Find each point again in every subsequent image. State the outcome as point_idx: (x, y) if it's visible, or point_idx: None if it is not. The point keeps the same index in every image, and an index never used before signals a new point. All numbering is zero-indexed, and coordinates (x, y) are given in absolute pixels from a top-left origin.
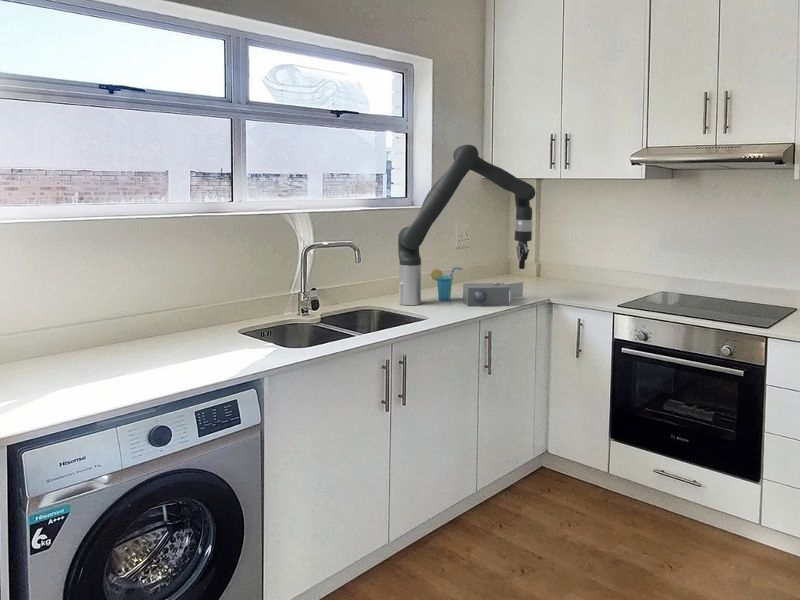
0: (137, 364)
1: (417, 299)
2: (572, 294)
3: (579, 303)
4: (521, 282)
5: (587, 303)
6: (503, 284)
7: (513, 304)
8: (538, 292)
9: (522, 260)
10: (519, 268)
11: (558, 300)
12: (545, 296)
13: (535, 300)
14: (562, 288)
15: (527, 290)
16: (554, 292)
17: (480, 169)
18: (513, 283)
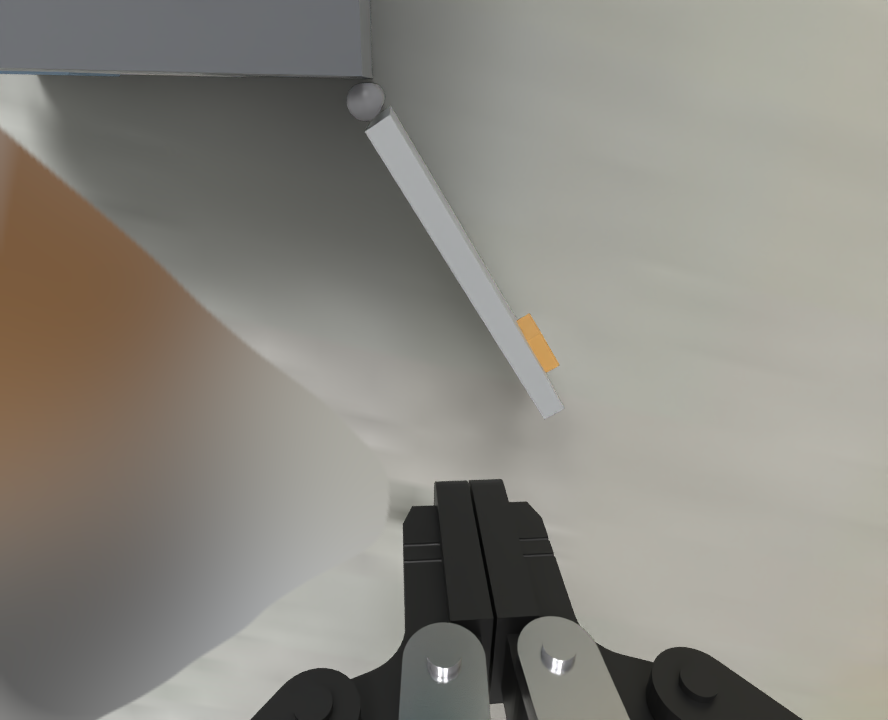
0: None
1: None
2: None
3: (239, 657)
4: (530, 395)
5: (242, 693)
6: (175, 27)
7: (133, 147)
8: (732, 513)
9: (394, 674)
10: (486, 480)
11: (362, 568)
12: (547, 522)
13: (370, 414)
14: (819, 672)
15: (851, 457)
16: (693, 606)
17: None
18: (454, 272)
